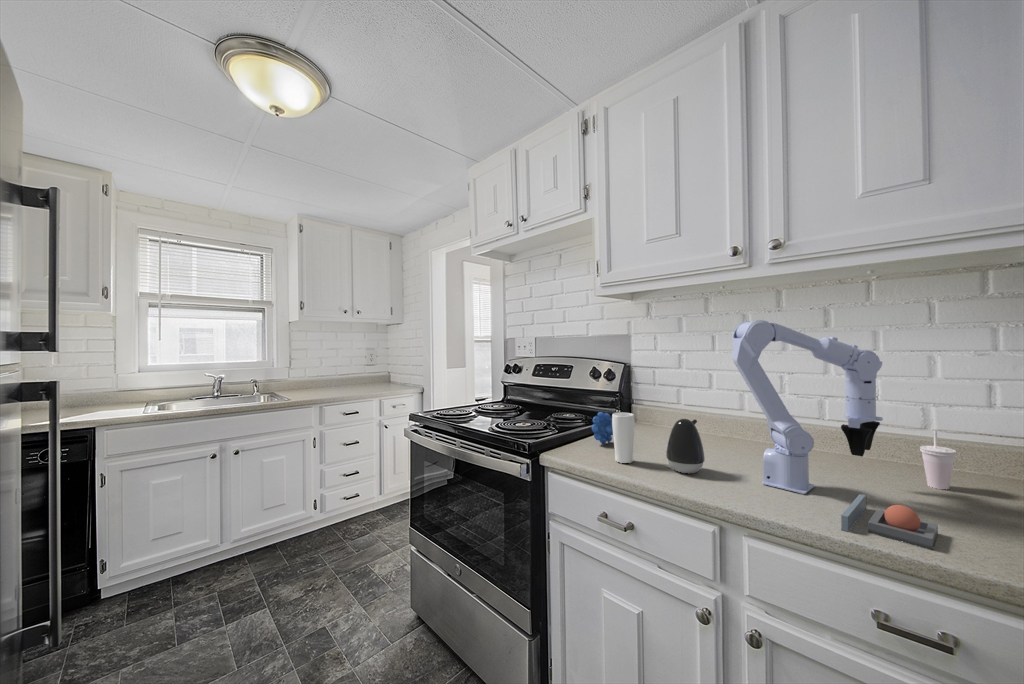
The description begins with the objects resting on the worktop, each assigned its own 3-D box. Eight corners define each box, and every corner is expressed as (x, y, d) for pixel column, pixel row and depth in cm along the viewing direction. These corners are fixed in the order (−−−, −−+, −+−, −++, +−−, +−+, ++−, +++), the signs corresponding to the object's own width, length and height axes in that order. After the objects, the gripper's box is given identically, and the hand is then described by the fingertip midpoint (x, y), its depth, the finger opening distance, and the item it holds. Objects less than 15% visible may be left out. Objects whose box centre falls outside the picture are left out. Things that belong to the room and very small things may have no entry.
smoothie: (936, 482, 104) (936, 428, 104) (965, 491, 97) (964, 434, 97) (912, 482, 104) (912, 429, 103) (940, 492, 97) (939, 435, 97)
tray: (868, 532, 79) (867, 522, 79) (877, 518, 84) (877, 509, 84) (932, 550, 72) (932, 539, 72) (937, 534, 78) (937, 524, 78)
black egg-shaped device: (712, 472, 115) (712, 419, 115) (689, 479, 109) (689, 424, 109) (681, 463, 124) (681, 413, 123) (659, 469, 118) (658, 418, 118)
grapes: (601, 449, 140) (601, 415, 140) (587, 445, 146) (586, 412, 146) (623, 443, 147) (622, 410, 147) (609, 439, 153) (608, 408, 152)
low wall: (841, 529, 80) (841, 515, 80) (859, 507, 90) (859, 493, 90) (847, 531, 79) (847, 516, 79) (865, 508, 89) (865, 495, 89)
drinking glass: (627, 466, 121) (626, 417, 121) (608, 461, 126) (607, 414, 126) (639, 461, 126) (638, 414, 125) (620, 457, 131) (619, 411, 130)
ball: (883, 532, 79) (881, 511, 78) (887, 517, 82) (886, 496, 81) (919, 542, 75) (918, 520, 74) (922, 526, 78) (921, 504, 77)
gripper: (875, 403, 92) (876, 462, 92) (887, 396, 101) (888, 449, 101) (837, 399, 97) (837, 455, 97) (851, 393, 106) (852, 444, 107)
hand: (860, 452), depth 100 cm, fingers open, 7 cm apart
